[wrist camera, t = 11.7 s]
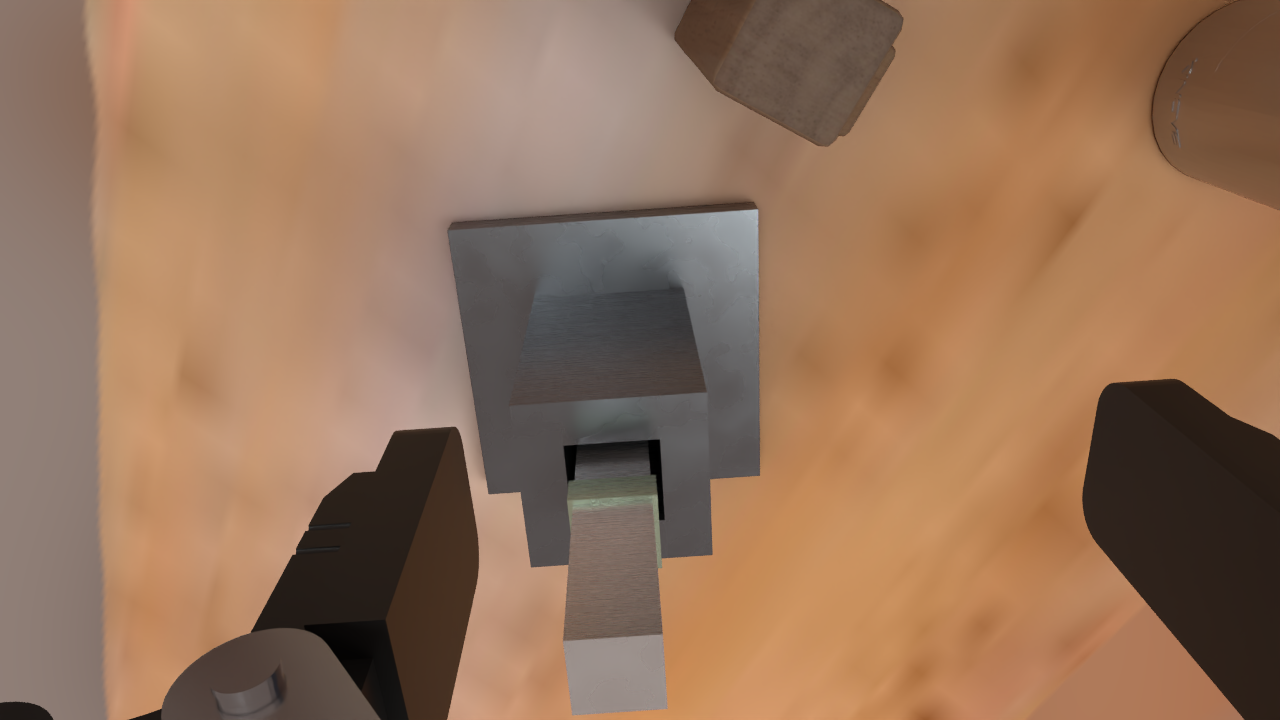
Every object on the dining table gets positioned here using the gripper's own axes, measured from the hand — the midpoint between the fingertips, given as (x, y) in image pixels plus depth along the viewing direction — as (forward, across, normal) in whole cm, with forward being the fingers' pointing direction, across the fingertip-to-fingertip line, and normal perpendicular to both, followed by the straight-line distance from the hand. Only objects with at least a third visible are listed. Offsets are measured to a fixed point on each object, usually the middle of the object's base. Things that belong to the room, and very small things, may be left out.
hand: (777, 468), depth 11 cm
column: (+29, +3, +14) cm, 32 cm away
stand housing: (+36, +3, +14) cm, 39 cm away
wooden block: (+36, -6, -2) cm, 37 cm away
